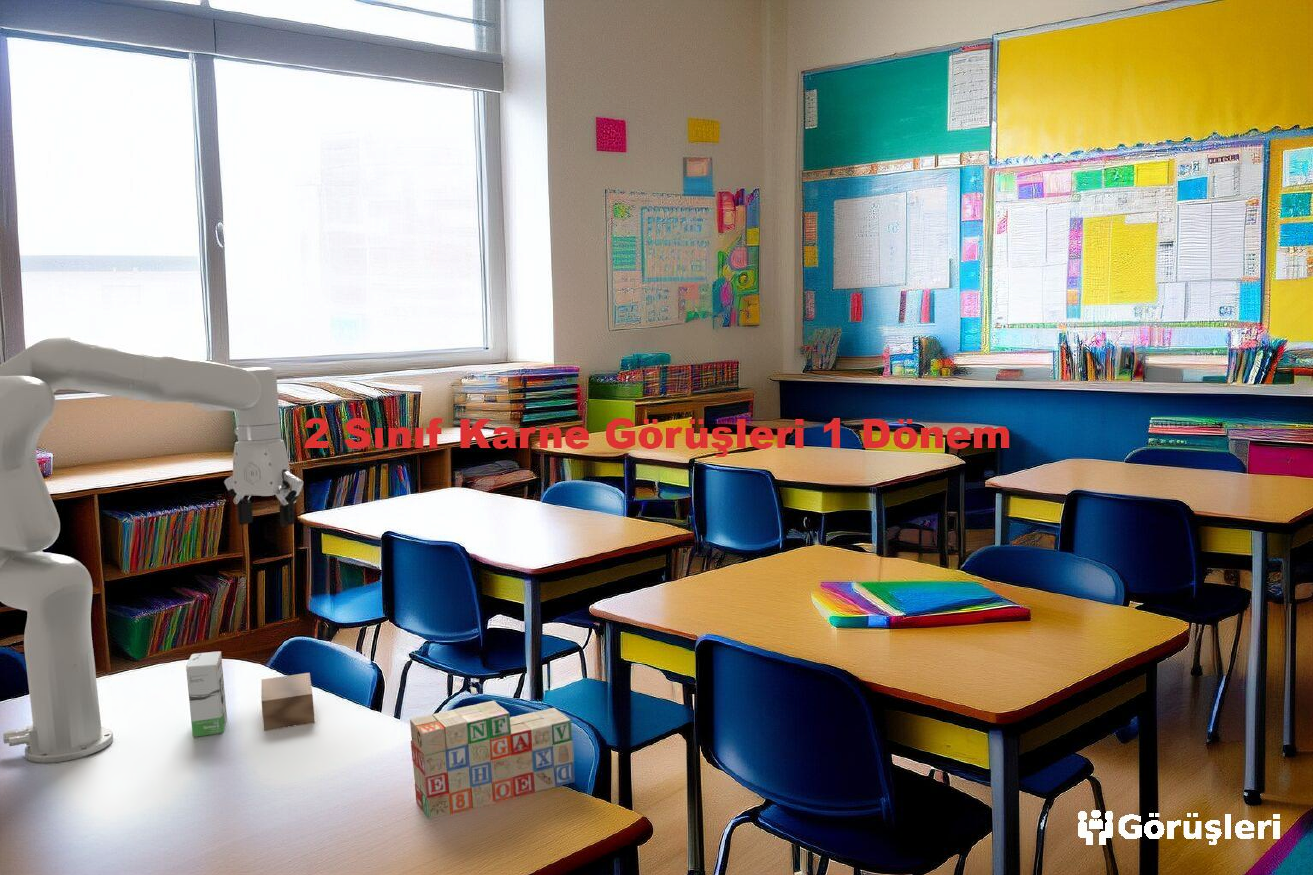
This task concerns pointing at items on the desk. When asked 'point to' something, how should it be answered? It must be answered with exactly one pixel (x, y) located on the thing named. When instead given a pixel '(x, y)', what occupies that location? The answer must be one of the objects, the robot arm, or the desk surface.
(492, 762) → the stack of blocks
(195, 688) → the ink box
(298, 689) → the walnut block
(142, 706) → the desk surface
